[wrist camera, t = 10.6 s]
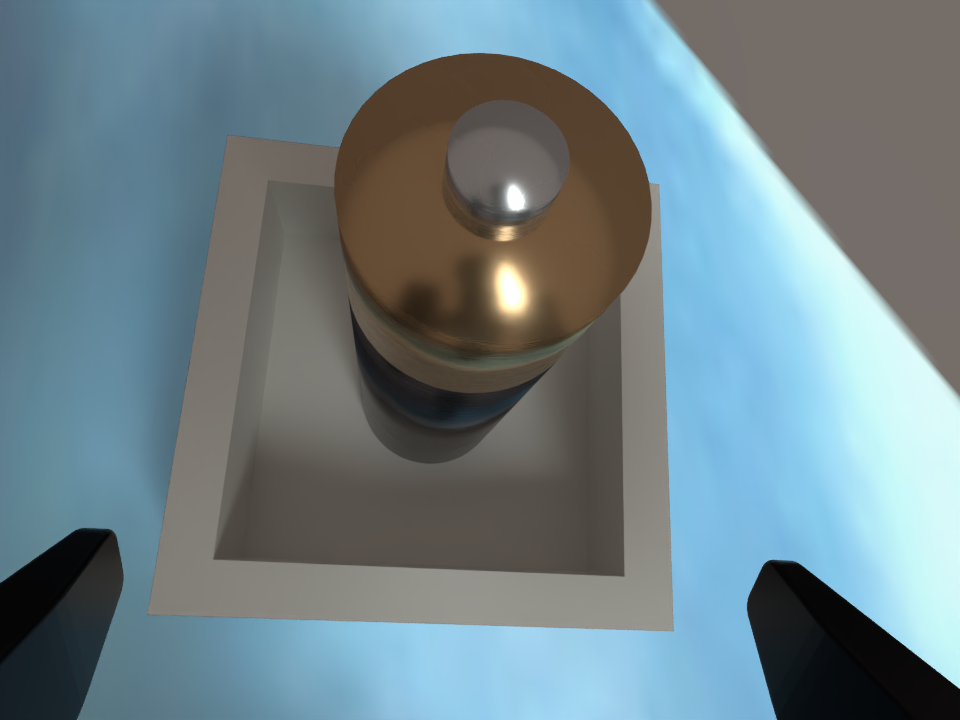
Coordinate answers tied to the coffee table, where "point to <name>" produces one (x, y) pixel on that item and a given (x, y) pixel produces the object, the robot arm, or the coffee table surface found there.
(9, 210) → the coffee table surface
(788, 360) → the coffee table surface
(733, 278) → the coffee table surface
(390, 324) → the cell
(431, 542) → the bin
